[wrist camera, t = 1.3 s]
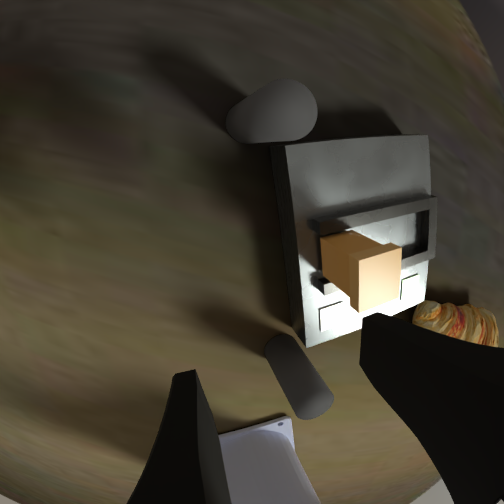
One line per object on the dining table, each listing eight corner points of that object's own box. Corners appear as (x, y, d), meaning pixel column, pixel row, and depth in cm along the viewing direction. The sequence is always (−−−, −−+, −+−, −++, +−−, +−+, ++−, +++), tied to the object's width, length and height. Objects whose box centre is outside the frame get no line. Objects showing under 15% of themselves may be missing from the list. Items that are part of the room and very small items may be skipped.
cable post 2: (266, 365, 21) (296, 424, 16) (262, 340, 20) (294, 399, 15) (297, 355, 22) (333, 410, 16) (294, 330, 21) (334, 384, 15)
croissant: (366, 309, 27) (381, 386, 21) (454, 247, 22) (494, 321, 15) (443, 367, 35) (456, 417, 29) (502, 331, 29) (521, 380, 23)
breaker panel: (292, 327, 21) (311, 355, 18) (268, 146, 16) (291, 145, 13) (404, 287, 23) (430, 305, 20) (403, 134, 18) (436, 135, 15)
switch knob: (319, 279, 17) (358, 313, 13) (316, 234, 16) (358, 260, 12) (356, 268, 17) (398, 297, 14) (354, 225, 16) (401, 247, 13)
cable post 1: (229, 147, 16) (261, 144, 10) (222, 104, 15) (251, 80, 10) (271, 140, 16) (321, 137, 11) (265, 99, 16) (312, 77, 10)
